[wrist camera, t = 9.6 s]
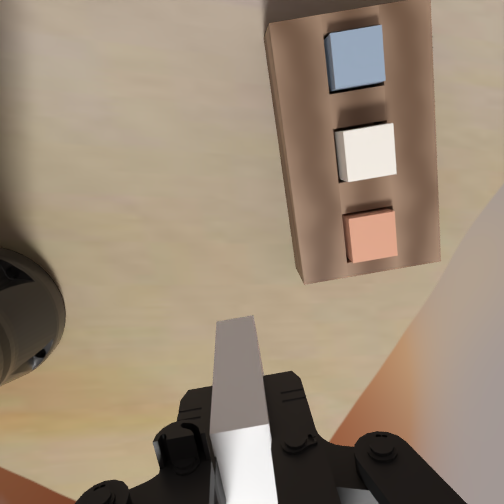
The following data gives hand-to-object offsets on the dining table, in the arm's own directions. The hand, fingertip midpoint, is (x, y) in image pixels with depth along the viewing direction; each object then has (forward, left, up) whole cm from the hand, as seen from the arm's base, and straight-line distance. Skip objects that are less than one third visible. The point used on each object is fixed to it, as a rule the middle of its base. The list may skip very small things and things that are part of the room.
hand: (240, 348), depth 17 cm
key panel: (+13, +5, -29) cm, 32 cm away
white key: (+13, +5, -25) cm, 28 cm away
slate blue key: (+13, +13, -26) cm, 32 cm away
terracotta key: (+13, -3, -26) cm, 29 cm away
